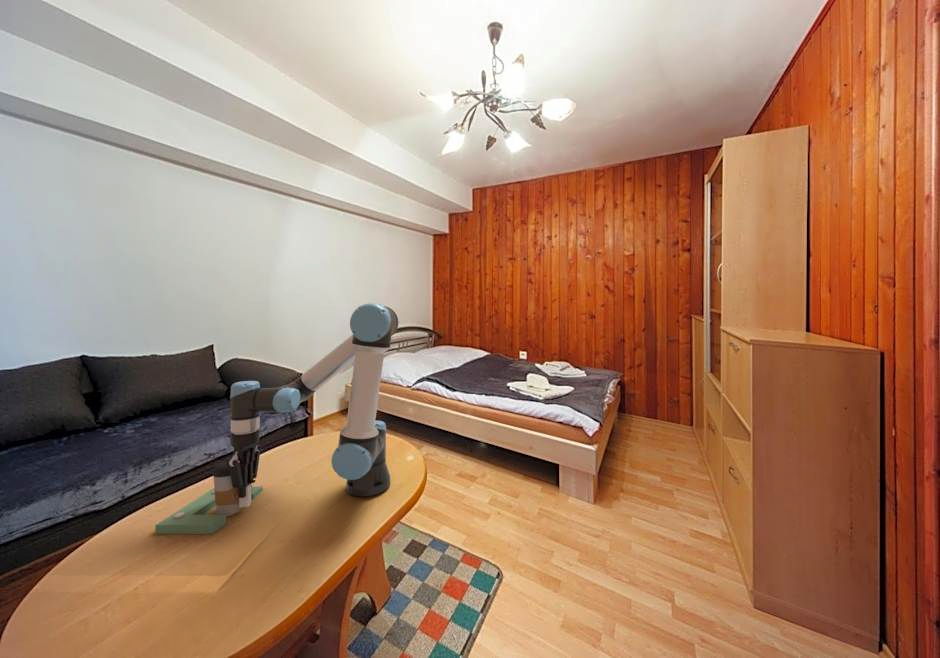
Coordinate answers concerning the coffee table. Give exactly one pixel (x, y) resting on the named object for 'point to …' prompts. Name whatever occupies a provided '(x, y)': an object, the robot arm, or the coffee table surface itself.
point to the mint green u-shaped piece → (196, 517)
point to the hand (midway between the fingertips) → (245, 505)
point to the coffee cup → (225, 491)
